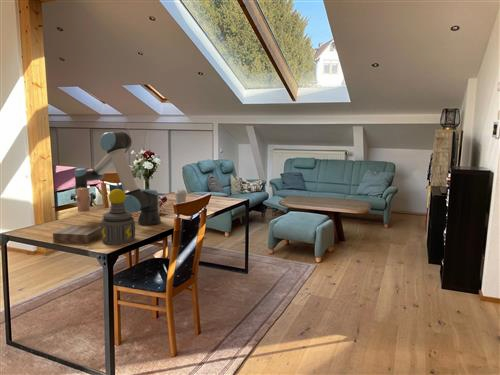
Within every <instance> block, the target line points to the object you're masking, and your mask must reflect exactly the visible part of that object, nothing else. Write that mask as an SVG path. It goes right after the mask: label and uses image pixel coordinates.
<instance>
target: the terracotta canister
mask: <svg viewBox="0 0 500 375" xmlns="http://www.w3.org/2000/svg"><path fill="white" fill-rule="evenodd" d="M89 194H90V189H89V187H87V188H77V202H76V204H77V212H78V213H79V212H81V213H84V212H89V211H91V207H90V206H91V205H90V204H91V203H90V202H91V201H89Z"/></svg>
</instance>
